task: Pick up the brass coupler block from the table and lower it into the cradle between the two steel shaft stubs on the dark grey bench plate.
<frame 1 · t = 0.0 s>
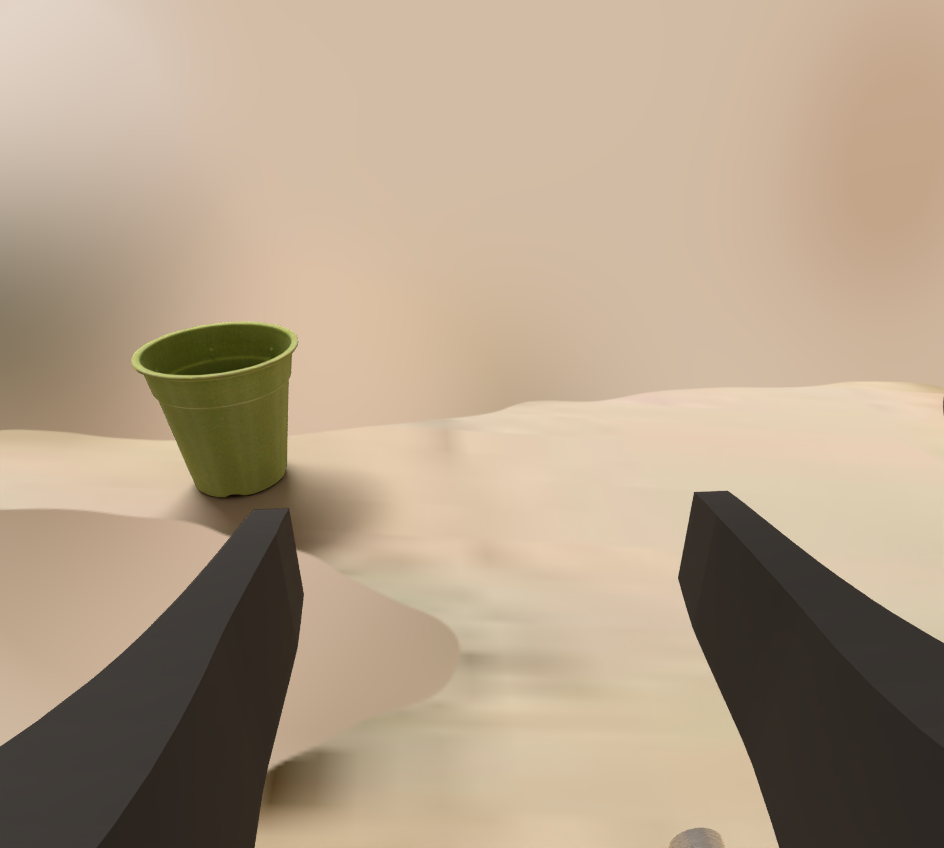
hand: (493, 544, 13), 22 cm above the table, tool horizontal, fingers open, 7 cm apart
plant pot: (240, 479, 59), on the table
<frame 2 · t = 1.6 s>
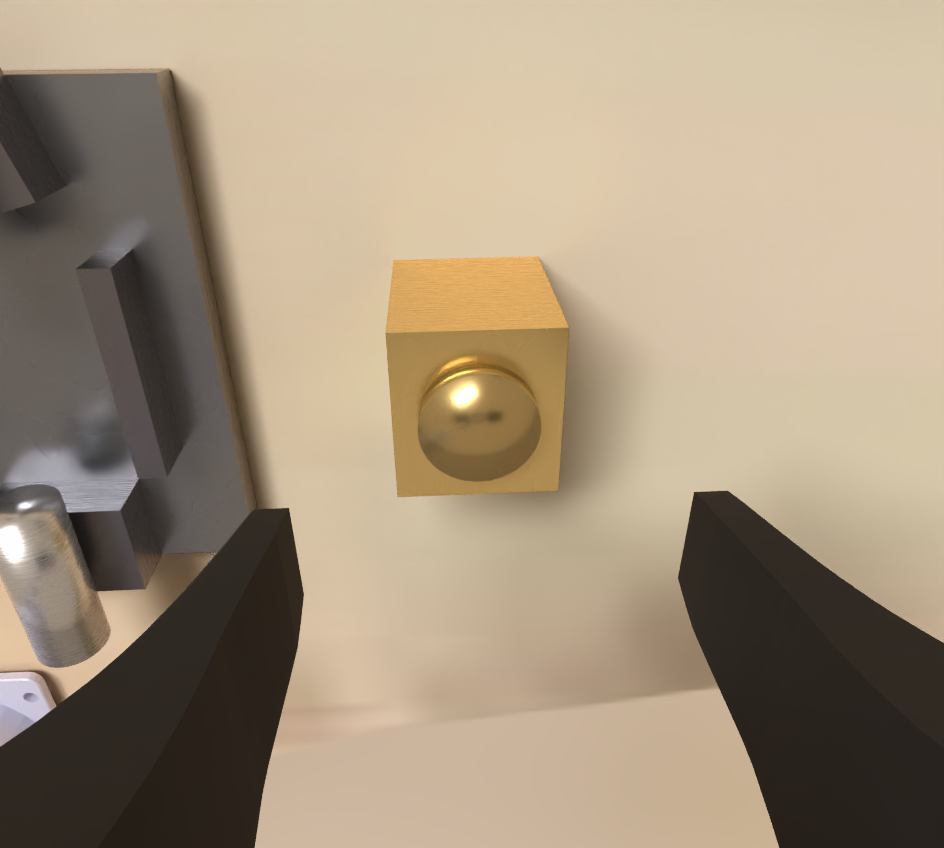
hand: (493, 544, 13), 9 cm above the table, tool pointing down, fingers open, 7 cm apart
coupler: (467, 331, 21), on the table
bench: (45, 344, 20), on the table
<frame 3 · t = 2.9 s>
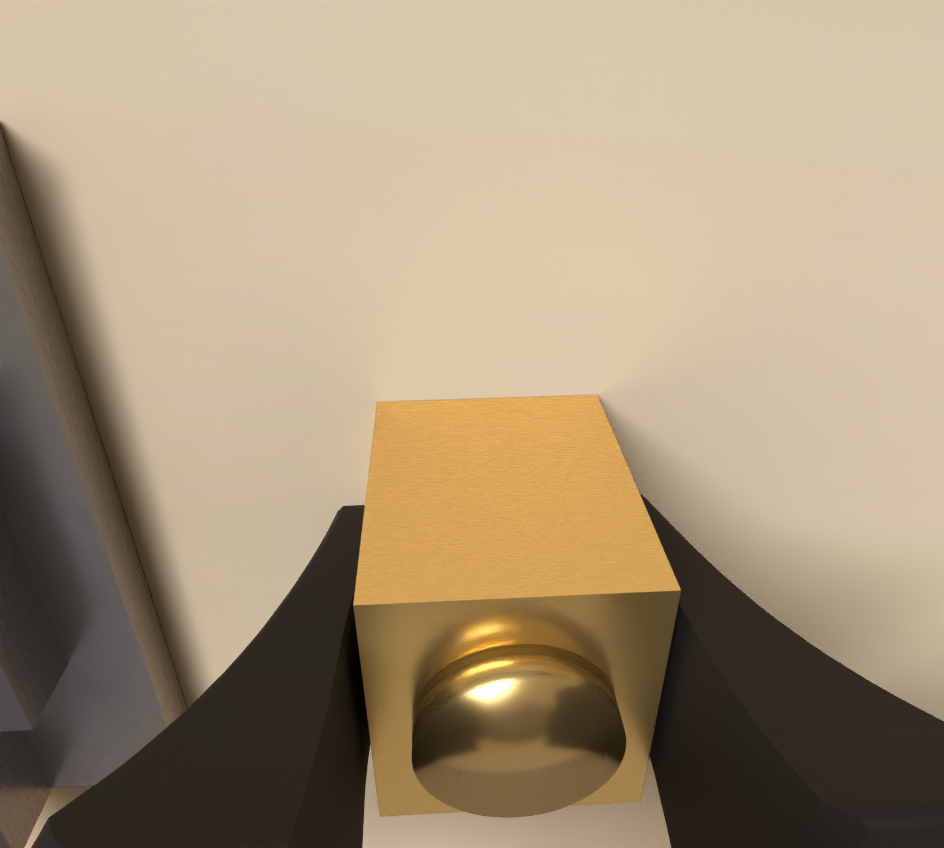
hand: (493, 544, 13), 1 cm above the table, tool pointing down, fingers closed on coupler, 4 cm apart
coupler: (487, 496, 14), on the table, touching gripper
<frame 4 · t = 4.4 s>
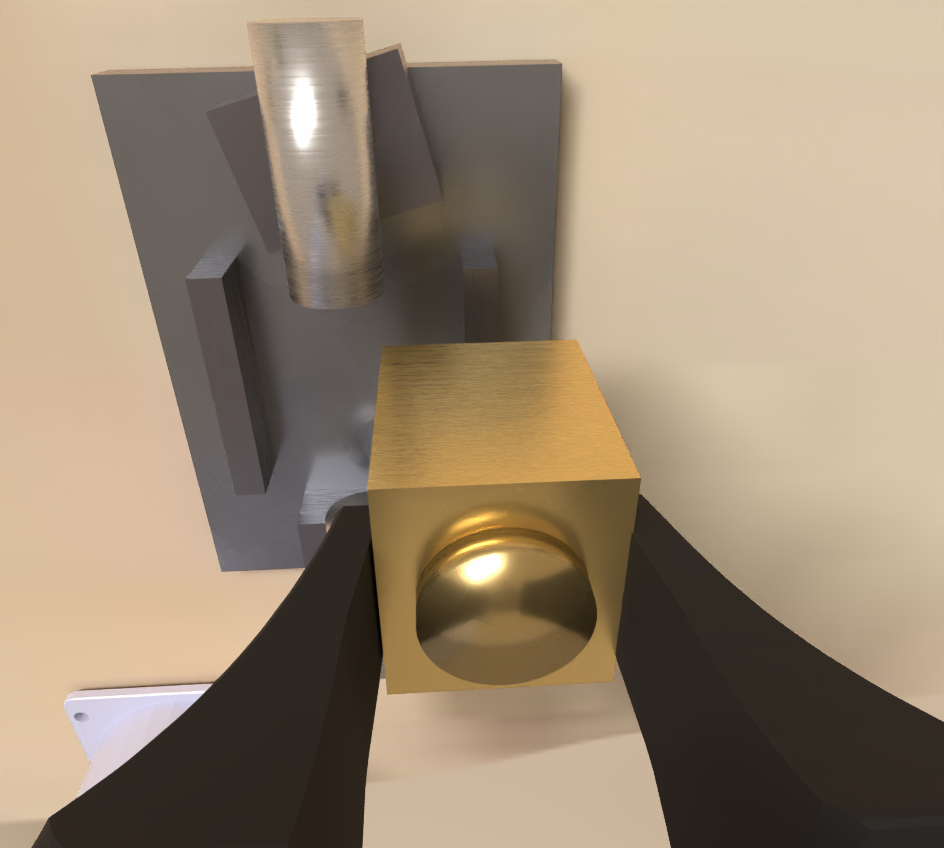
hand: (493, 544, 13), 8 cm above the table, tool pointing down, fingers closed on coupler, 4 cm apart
coupler: (480, 434, 16), point 5 cm above the table, touching gripper
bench: (363, 347, 20), on the table
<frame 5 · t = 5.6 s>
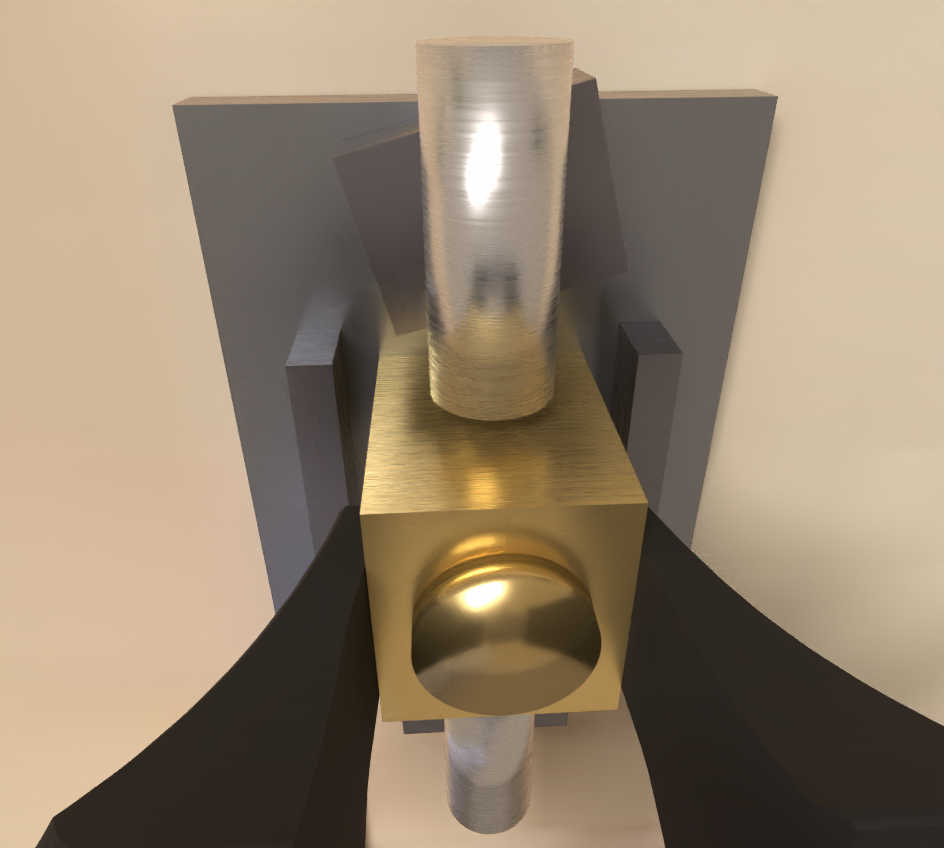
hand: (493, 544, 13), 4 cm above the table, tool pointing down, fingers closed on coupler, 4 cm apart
coupler: (481, 447, 15), point 1 cm above the table, touching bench, gripper
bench: (478, 431, 16), on the table
when the fingers open (4 cm above the table, at t = 5.9 s): coupler stays where it is, resting on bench.
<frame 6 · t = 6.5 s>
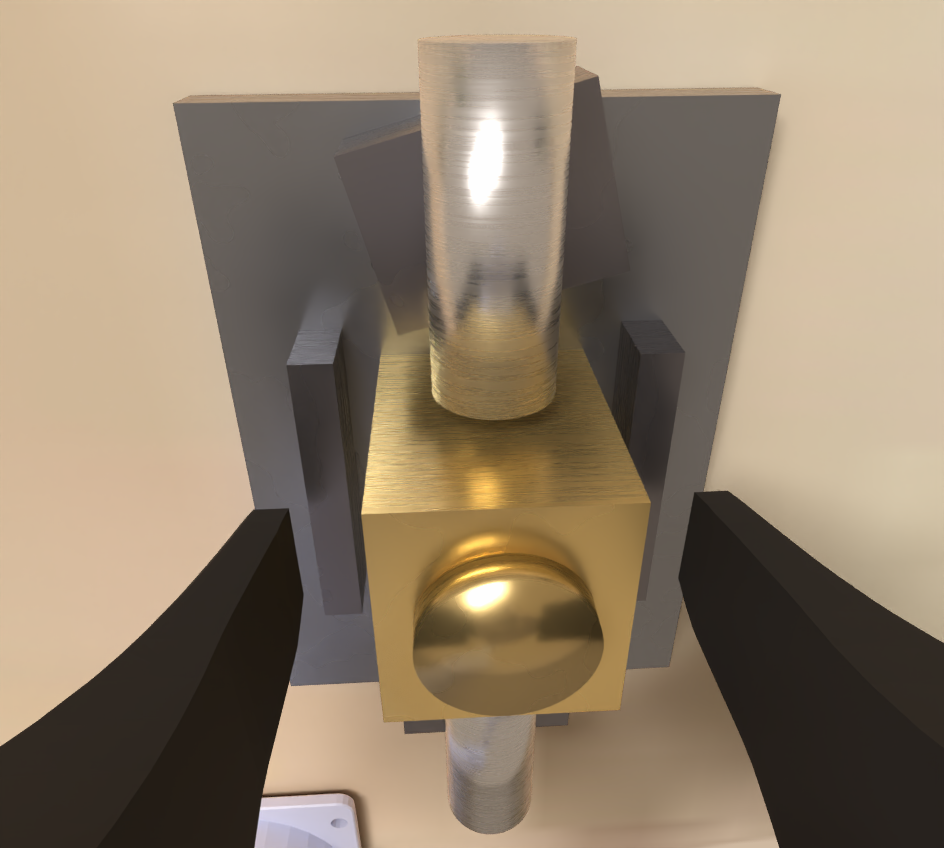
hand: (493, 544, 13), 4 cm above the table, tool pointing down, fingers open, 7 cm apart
coupler: (482, 446, 15), point 1 cm above the table, touching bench
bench: (479, 430, 16), on the table
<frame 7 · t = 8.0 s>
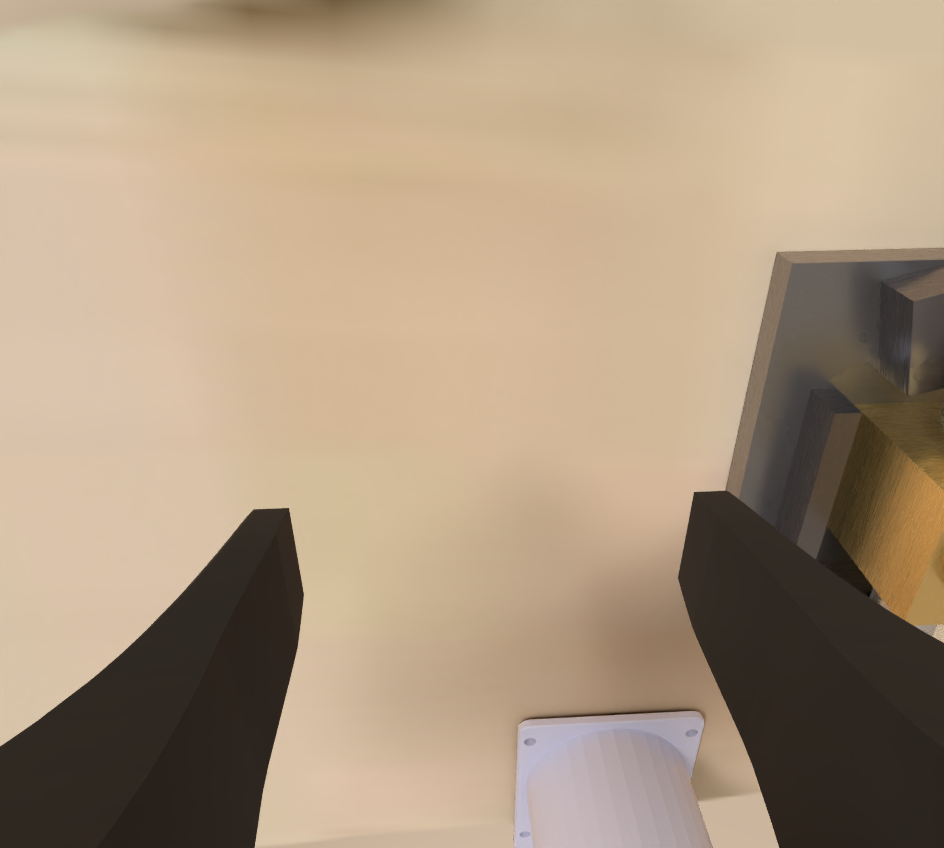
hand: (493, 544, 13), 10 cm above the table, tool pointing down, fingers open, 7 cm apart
coupler: (895, 460, 24), point 1 cm above the table, touching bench
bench: (877, 449, 25), on the table
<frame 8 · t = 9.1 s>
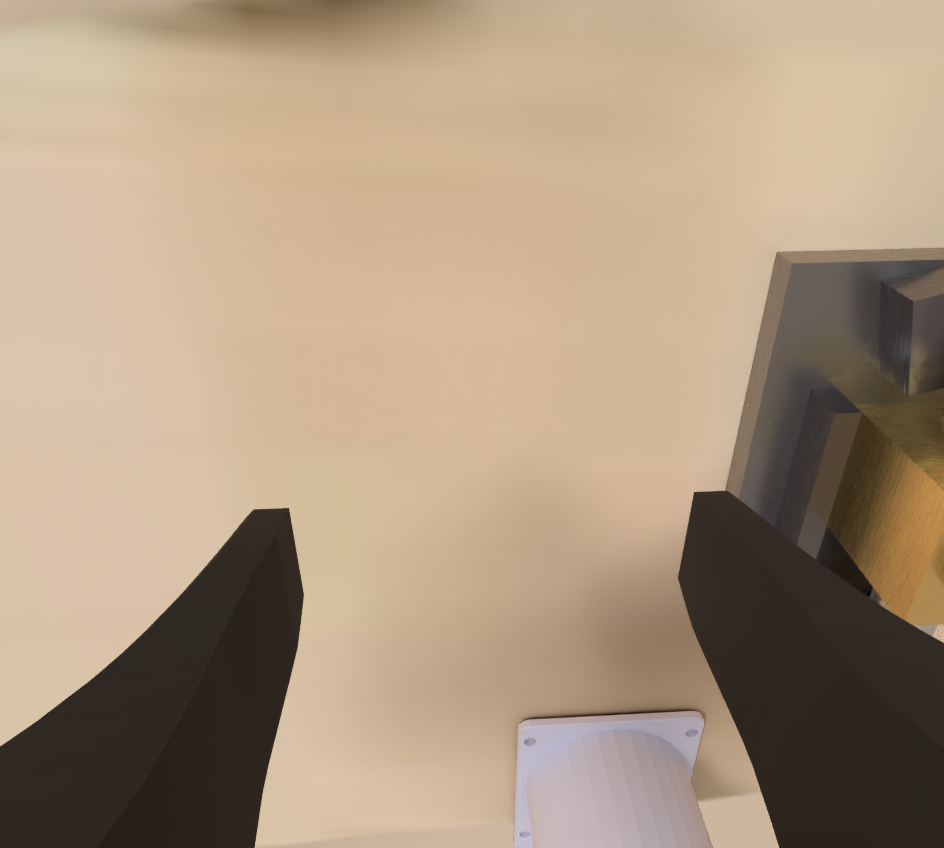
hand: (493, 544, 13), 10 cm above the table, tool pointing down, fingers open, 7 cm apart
coupler: (895, 460, 24), point 1 cm above the table, touching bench
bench: (877, 449, 25), on the table
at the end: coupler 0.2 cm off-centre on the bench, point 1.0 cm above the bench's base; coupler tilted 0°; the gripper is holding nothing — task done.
